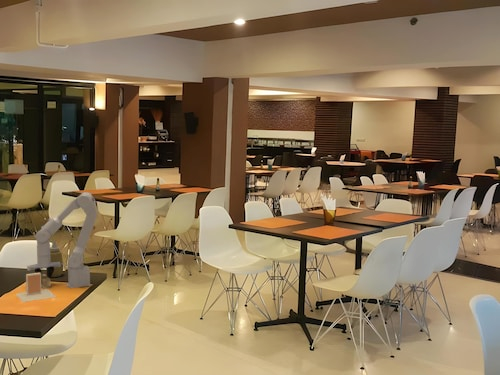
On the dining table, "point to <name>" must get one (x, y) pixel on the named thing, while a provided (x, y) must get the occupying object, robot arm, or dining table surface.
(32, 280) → the tile
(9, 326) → the dining table surface
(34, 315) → the dining table surface
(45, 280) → the wooden bar
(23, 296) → the mat
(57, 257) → the squeeze bottle
